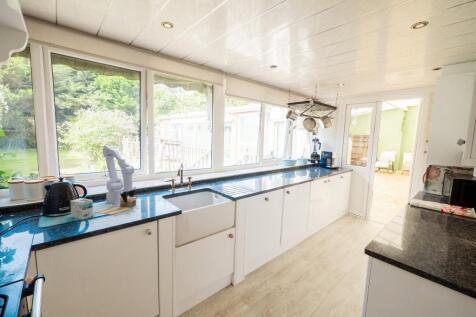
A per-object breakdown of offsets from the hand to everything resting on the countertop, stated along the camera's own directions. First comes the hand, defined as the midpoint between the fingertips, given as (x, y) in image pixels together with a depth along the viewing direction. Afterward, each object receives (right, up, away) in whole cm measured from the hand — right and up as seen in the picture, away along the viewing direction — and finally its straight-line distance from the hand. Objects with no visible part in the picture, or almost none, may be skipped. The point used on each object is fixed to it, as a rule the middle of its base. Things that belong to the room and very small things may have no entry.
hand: (128, 200), depth 148 cm
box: (0, -4, 0) cm, 4 cm away
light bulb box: (-17, -6, -21) cm, 28 cm away
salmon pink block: (0, 0, 0) cm, 0 cm away
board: (-3, -5, -10) cm, 12 cm away
